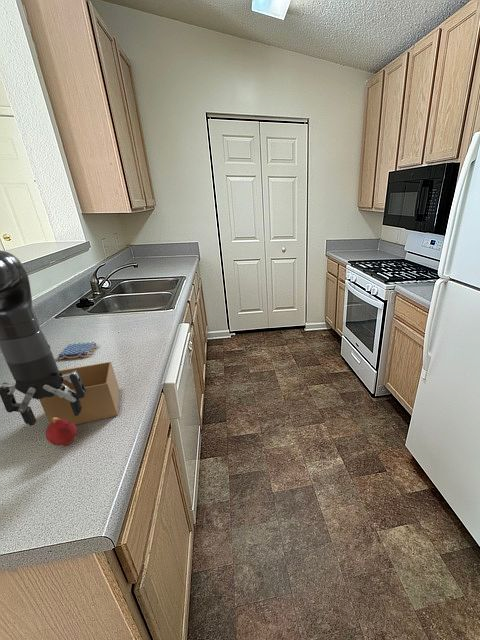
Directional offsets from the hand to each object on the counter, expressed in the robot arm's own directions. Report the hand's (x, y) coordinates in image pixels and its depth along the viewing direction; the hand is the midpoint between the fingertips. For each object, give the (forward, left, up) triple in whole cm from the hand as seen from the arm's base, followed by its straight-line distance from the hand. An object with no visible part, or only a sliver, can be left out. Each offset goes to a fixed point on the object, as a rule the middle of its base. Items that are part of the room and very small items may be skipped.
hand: (56, 418), depth 75 cm
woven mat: (-5, +59, -8) cm, 60 cm away
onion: (0, 0, -8) cm, 8 cm away
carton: (+3, +15, -8) cm, 17 cm away
